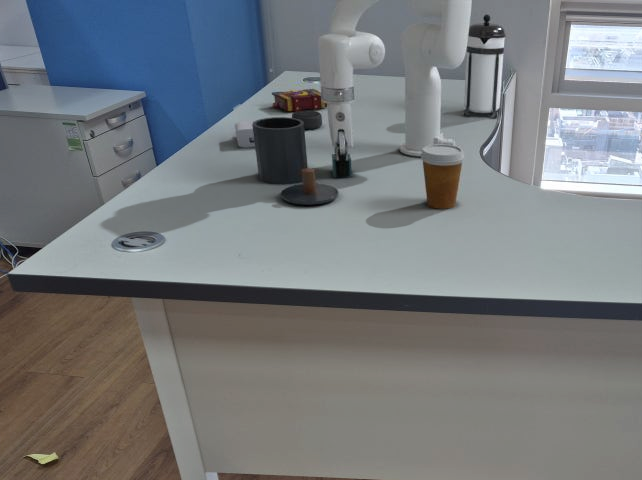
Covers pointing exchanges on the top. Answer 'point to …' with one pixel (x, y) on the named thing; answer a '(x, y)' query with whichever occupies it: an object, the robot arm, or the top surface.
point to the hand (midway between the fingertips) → (342, 172)
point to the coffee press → (484, 68)
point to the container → (280, 149)
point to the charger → (245, 134)
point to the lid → (309, 190)
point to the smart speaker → (309, 119)
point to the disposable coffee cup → (442, 174)
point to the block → (335, 165)
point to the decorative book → (298, 100)
